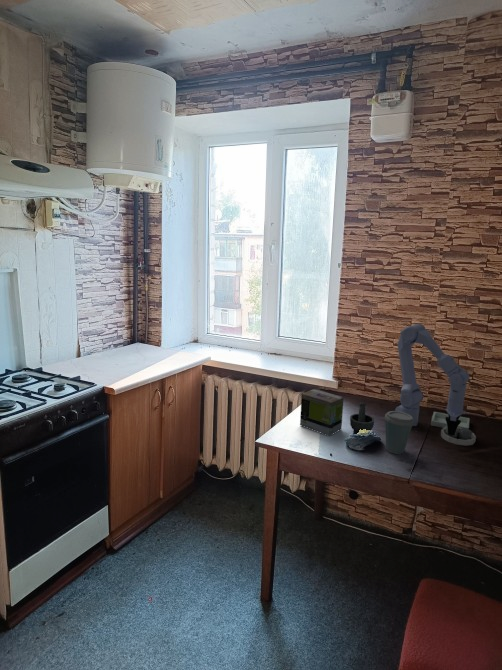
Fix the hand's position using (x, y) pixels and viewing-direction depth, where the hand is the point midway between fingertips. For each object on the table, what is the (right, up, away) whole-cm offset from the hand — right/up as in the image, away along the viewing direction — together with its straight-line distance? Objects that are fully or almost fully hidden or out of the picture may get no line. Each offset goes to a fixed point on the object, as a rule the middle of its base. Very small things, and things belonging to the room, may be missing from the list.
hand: (451, 431), depth 180 cm
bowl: (+2, -4, 0) cm, 4 cm away
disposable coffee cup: (-26, -5, -10) cm, 29 cm away
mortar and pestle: (-36, -2, +4) cm, 36 cm away
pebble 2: (+4, -3, -2) cm, 6 cm away
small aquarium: (-52, -1, +8) cm, 53 cm away
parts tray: (+5, -1, +13) cm, 14 cm away
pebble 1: (0, -3, +1) cm, 3 cm away
